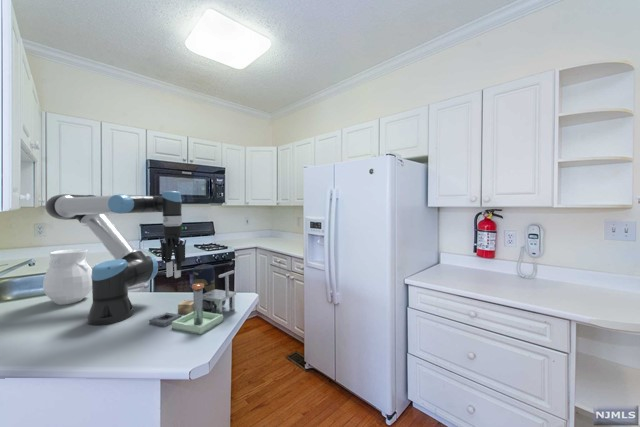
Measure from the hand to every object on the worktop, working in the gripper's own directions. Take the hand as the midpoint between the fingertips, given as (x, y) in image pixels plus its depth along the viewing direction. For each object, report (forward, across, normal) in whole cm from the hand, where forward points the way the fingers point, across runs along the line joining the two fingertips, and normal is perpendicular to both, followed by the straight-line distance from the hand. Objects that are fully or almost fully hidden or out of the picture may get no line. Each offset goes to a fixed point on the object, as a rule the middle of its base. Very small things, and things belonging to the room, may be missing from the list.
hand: (173, 276), depth 120 cm
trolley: (+15, +21, +4) cm, 26 cm away
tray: (+15, +23, -9) cm, 29 cm away
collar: (+15, +8, -11) cm, 20 cm away
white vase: (+15, -57, -10) cm, 60 cm away
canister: (+15, +5, +13) cm, 20 cm away
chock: (+15, +8, 0) cm, 17 cm away
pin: (+14, +23, -9) cm, 28 cm away
